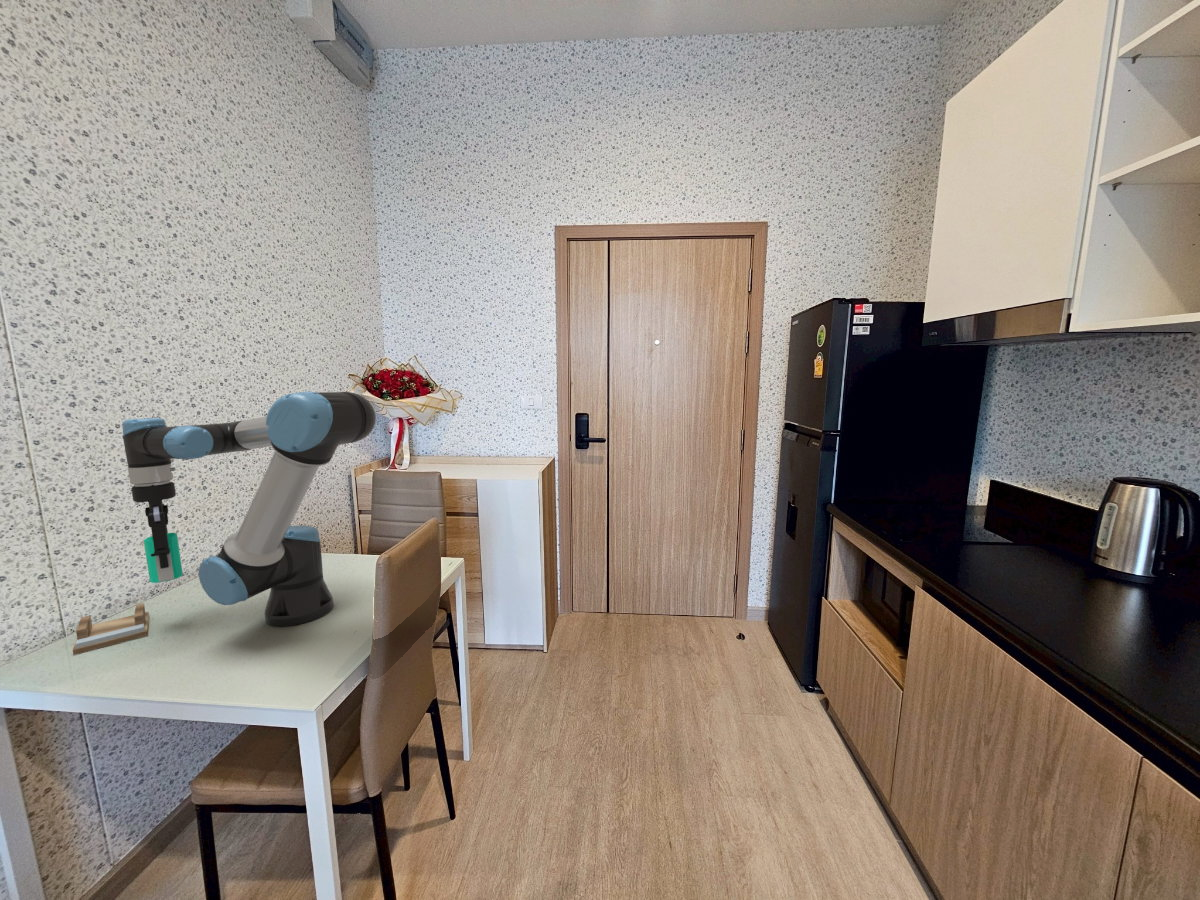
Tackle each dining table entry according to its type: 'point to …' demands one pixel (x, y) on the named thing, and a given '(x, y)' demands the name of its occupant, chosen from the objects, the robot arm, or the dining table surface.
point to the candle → (174, 557)
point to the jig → (111, 629)
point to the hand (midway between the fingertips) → (166, 576)
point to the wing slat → (109, 635)
